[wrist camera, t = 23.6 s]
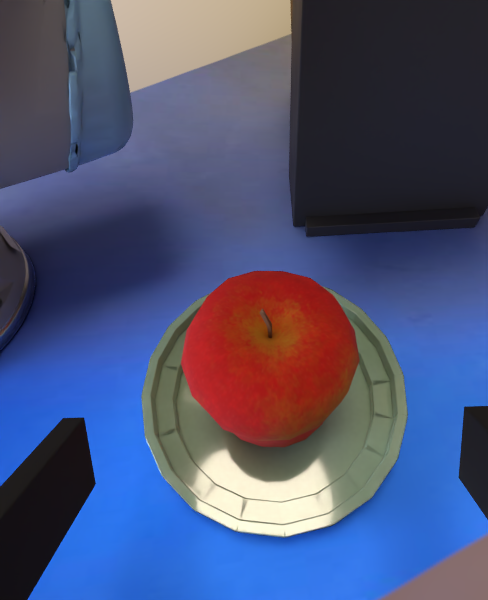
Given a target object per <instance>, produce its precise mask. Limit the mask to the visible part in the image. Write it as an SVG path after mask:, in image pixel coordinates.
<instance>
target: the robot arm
mask: <svg viewBox="0 0 488 600" xmlns="http://www.w3.org/2000/svg"><path fill="white" fill-rule="evenodd" d="M132 128H133V111H132V103H131V97H130V90H129V84H128V79H127V73H126V68H125V63H124V58H123V53H122V48H121V44H120V39H119V34H118V30H117V25H116V21H115V17H114V12H113V9H112V4H111V0H0V189H1V188H5V187H8V186H11V185H15V184H18V183H21V182H25V181H28V180H31V179H35V178H38V177H41V176H45V175H48V174H51V173H55V172H58V171H61V170H66V172H73V171H74V170H75V169H77V167H78V165H81V164H84V163H87V162H90V161H93V160H96V159H98V158H101V157H104V156H107V155H110V154H113V153H115V152H117V151H119V150H120V149H122V148H123V147H124V146H125V144H126V143H127V141H128V140H129V138H130V136H131V133H132ZM35 284H36V282H35V271H34V267H33V264H32V262H31V260H30V258H29V256H28V255H27V253H26V252H25V251H24V250H23V249H22V248H21V246H20V245H19V244H18V243H17V242H16V241H15V240H14V239H13V238H12V237H11V236H10V235H8V233H7V232H6V230H5V229H4V228H3V227H2V226H0V350H1V349H2V348H4V346H5V345H6V344H7V343H8V342H9V341H10V340H11V339H12V337H13V336H14V335H15V333H16V332H17V331H18V329H19V328H20V326H21V325H22V323H23V321H24V319H25V318H26V316H27V314H28V311H29V309H30V307H31V304H32V301H33V297H34V292H35ZM459 479H460V480H461V482H462V483H463V484H464V486H465V487H466V489H467V490H468V492H469V493H470V495H471V496H472V498H473V499H474V500H475V502H476V503H477V505H478V506H479V508H480V509H481V511H482V512H483V513H484V515H485V516H486V518H487V519H488V406H474V407H464V418H463V430H462V443H461V456H460V468H459ZM95 484H96V483H95V478H94V472H93V466H92V461H91V455H90V449H89V443H88V438H87V432H86V426H85V421H84V418H63V419H62V420H61V421H60V422H59V423H58V424H57V426H56V427H55V428H54V429H53V430H52V431H51V432H50V433H49V434H48V435H47V436H46V438H45V439H44V440H43V441H42V442H41V443H40V444H39V445H38V446H37V447H36V448H35V450H34V451H33V452H32V453H31V454H30V455H29V456H28V457H27V458H26V459H25V461H24V462H23V463H22V464H21V465H20V466H19V467H18V468H17V469H16V470H15V471H14V473H13V474H12V475H11V476H10V477H9V478H8V479H7V480H6V481H5V482H4V483H3V485H2V486H1V487H0V600H27V599H28V597H29V596H30V594H31V592H32V591H33V589H34V587H35V586H36V584H37V582H38V581H39V579H40V577H41V576H42V574H43V572H44V570H45V569H46V567H47V565H48V564H49V562H50V560H51V559H52V557H53V555H54V554H55V552H56V550H57V548H58V547H59V545H60V543H61V542H62V540H63V538H64V537H65V535H66V533H67V532H68V530H69V528H70V526H71V525H72V523H73V521H74V520H75V518H76V516H77V515H78V513H79V511H80V510H81V508H82V506H83V505H84V503H85V501H86V499H87V498H88V496H89V494H90V493H91V491H92V489H93V488H94V486H95Z"/></svg>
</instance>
